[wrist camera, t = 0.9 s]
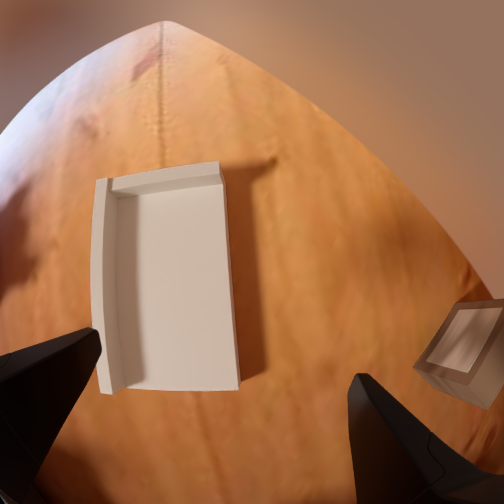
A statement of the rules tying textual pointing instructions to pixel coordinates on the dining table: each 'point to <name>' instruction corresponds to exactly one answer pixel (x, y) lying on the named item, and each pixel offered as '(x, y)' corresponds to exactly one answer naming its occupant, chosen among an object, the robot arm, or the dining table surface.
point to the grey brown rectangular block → (468, 353)
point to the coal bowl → (33, 500)
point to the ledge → (164, 281)
